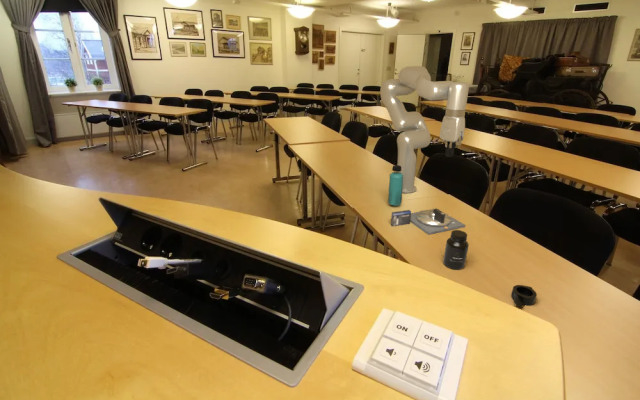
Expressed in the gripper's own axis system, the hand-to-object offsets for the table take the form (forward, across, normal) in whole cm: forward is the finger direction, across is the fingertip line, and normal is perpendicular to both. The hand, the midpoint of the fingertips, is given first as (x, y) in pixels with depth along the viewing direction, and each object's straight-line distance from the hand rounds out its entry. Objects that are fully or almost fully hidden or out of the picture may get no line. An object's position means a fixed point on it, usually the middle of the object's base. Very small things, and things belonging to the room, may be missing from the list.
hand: (449, 156), depth 141 cm
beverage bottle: (+25, -11, -19) cm, 33 cm away
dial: (+24, +10, -13) cm, 29 cm away
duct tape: (+26, +60, -21) cm, 68 cm away
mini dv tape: (+25, +7, -27) cm, 38 cm away
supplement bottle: (+25, +39, -27) cm, 54 cm away
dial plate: (+25, +10, -13) cm, 30 cm away
